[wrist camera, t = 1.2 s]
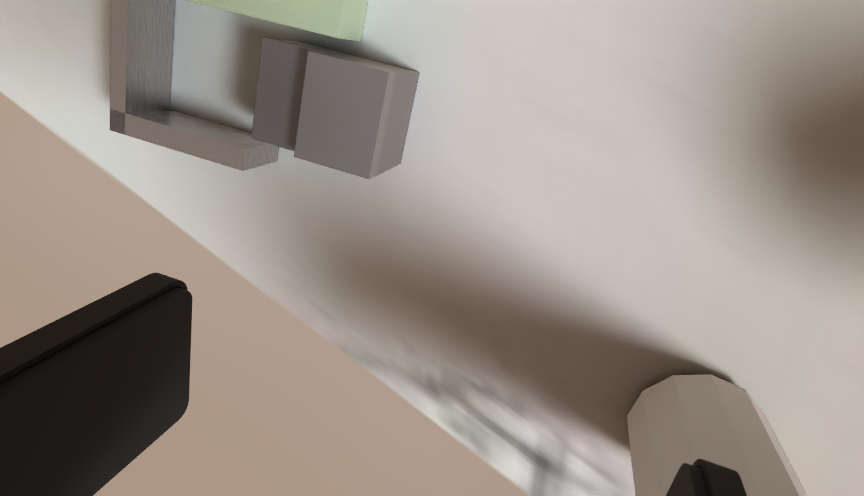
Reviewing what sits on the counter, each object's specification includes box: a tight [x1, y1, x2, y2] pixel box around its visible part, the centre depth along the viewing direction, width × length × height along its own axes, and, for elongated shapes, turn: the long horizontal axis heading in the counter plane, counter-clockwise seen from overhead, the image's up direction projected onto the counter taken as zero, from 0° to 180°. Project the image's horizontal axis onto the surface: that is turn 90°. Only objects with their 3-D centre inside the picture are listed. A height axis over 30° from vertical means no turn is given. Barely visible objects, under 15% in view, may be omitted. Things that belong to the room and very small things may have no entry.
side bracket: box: [110, 0, 279, 171], centre depth 30 cm, size 8×8×4 cm
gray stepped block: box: [251, 37, 420, 179], centre depth 28 cm, size 5×7×5 cm
